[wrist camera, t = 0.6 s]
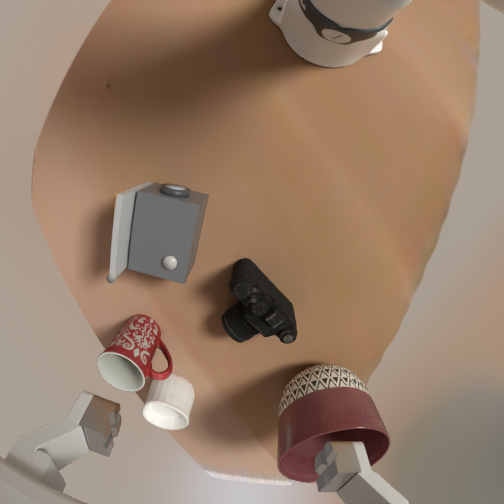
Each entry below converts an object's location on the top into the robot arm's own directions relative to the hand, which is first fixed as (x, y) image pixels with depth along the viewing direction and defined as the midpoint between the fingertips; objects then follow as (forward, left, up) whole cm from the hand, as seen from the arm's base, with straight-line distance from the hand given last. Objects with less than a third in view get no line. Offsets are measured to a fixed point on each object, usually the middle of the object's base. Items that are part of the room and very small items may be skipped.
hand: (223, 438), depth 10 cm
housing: (+6, -12, -40) cm, 42 cm away
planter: (+32, +23, -41) cm, 56 cm away
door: (+6, -17, -40) cm, 44 cm away
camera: (+15, +4, -41) cm, 44 cm away
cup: (+43, -7, -41) cm, 59 cm away
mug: (+29, -13, -41) cm, 51 cm away
